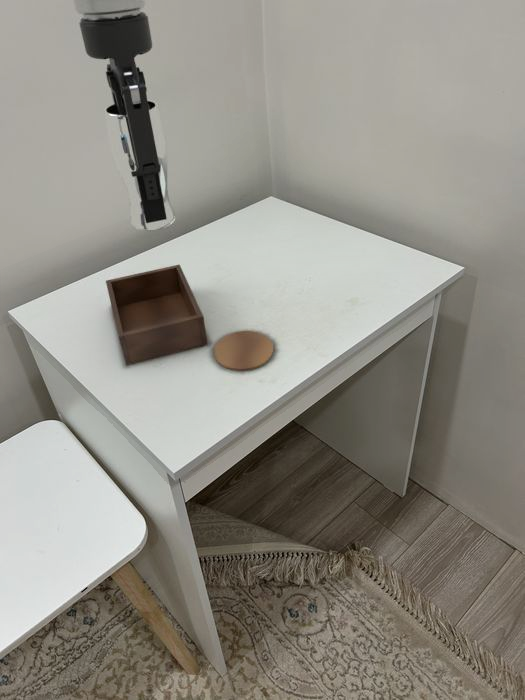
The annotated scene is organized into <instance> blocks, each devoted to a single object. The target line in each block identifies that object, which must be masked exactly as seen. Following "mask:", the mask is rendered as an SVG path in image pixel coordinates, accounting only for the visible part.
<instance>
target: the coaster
mask: <svg viewBox="0 0 525 700" xmlns="http://www.w3.org/2000/svg"><path fill="white" fill-rule="evenodd" d="M213 354H214V355H213V356H214V359H215V361H216V362H217V363H218V364H219V365H220V366H222V368H223V367H224V368H226V369H227V370H231V371H237V372H239V371H241V372H243V371H250V370H255V369H257V368H258V369H259V368H260V367H262V366H263V365H265V364H267V363H268V362H269V361H270V360H271V358H272V357H273V355H274V344H273V342H272V341H271V339H270V338H269V337H268V336H266V335H265V334H262V332H261V333H260V332H257V331H253V330H252V331H250V330H242V331H235V332H232V333H228V334H226V335H224V336H223V337H222V338H221V339H219V341H217V343H216V344H215V346H214V349H213Z"/></svg>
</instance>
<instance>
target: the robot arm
mask: <svg viewBox="0 0 525 700" xmlns="http://www.w3.org/2000/svg"><path fill="white" fill-rule="evenodd" d="M72 1H73V5H74V10H75V12H76V13H78V14H80V15H82V18H81V19H80V22H79V29H80V31H81V37H82V41H83V45H84V50H85V53H86V54H87V56H88V57H90V58H92V59H95V60H107V59H109V60H108V61H109V63H108V64H106V71H105V75H106V81H107V84H108V86H109V88H110V92H111V96H112V102H113V104H115V107H116V108H118V110H119V114H120V115H123V116H125V118H126V123H127V127H128V132H129V137H130V142H131V146H132V151H133V156H134V160H135V164H136V171H133V172H131V174H132V177H135V176H136V177H137V182H138V187H139V192H140V196H141V201H142V206H143V211H144V216H145V221H146V223H151V222H156V221H161V220H165V219H167V218H166V212H165V206H164V201H163V195H162V190H161V184H160V179H159V173H158V172H160V171H161V170H160V169H161V167H160V164H159V161H158V156H157V151H156V145H155V140H154V135H153V129H152V124H151V119H150V114H149V107H148V102H147V100H148V96H147V91H148V87H147V86H146V80H145V75H144V74H145V73H144V71H142V70H141V69H140V67H139V66H137V64H136V60H135V58H136V57H137V56H139V55H140V56H141V55H145V54H147V53H149V52H150V51H151V50H152V49H153V39H152V34H151V29H150V28H151V27H150V22H149V21H150V20H149V16H148V15H146V13H145V12H144V11H142V9H143V8H144V7H145V5H146V1H145V0H72ZM126 115H127V116H126Z"/></svg>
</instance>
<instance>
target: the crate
mask: <svg viewBox="0 0 525 700" xmlns="http://www.w3.org/2000/svg"><path fill="white" fill-rule="evenodd" d="M105 285H106V289H107V293H108V297H109V302H110V306H111V310H112V315H113V319H114V325H115V328H116V332H117V337H118V340H119V344H120V347H121V350H122V354H123V358H124V362H125V365H126V366H129V365H134V364H137V363H141V362H146V361H149V360H152V359H156V358H160V357H164V356H169V355H172V354H176V353H181V352H184V351H188V350H192V349H196V348H200V347H204V346H208V344H209V343H208V337H207V331H206V325H205V324H206V323H205V319H204V315H203V313H202V311H201V309H200V308H201V307H200V306H199V304H198V301H197V299H196V297H195V295H194V293H193V291H192V288H191V286H190V284H189V282H188V279H187V278H186V275H185V273H184V271H183V269H182V266H181V265H180V264H176V265H170V266H166V267H162V268H157V269H151V270H147V271H143V272H138V273H133V274H129V275H125V276H120V277H115V278H112V279H107V280H105Z"/></svg>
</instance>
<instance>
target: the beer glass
mask: <svg viewBox="0 0 525 700" xmlns="http://www.w3.org/2000/svg"><path fill="white" fill-rule="evenodd" d="M147 102H148V107H149V114H150V119H151V124H152V129H153V135H154V140H155V145H156V151H157V156H158V161H159V164H160V167H161V169H160V170H161V171H160V172H158V173H159V179H160V184H161V190H162V195H163V201H164V206H165V212H166V218H167V219H165V220H161V221H156V222H151V223H146V221H145V216H144V211H143V206H142V201H141V196H140V192H139V187H138V182H137V177H136V176H135V177H132V174H131V172H133V171H136V164H135V160H134V156H133V151H132V146H131V142H130V137H129V132H128V127H127V123H126V118H125V116H123V115H120V114H119V110H118V108H116V107H115V104H114V103H112V104H110V105H108V106H106V107H105V108H104V109H103V114H104V118H105V126H106V133H107V138H108V143H109V147H110V151H111V155H112V159H113V161H114V164H115V167H116V169H117V171H118V174H119V177H120V179H121V182H122V184H123V187H124V189H125V192H126V194H127V198H128V201H129V209H130V213H129V214H130V225H131V226H132V227H133V228H134V229H135V230H138V231H143V232H151V231H153V232H154V231H159V230H162V229H165V228H168V227H169V226H171V225H172V224H173V223H174V222H175V220H176V215H175V212H174V209H173V205H172V204H171V200H170V196H169V189H168V148H167V141H166V135H165V129H164V125H163V124H164V123H163V121H162V117H161V112H160V108H159V104H158V103H157V102H156V101H154V100H151V99H147ZM126 116H127V115H126Z"/></svg>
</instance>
